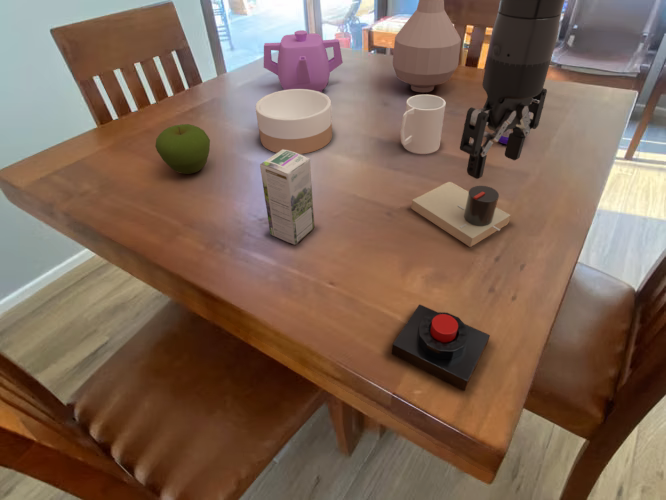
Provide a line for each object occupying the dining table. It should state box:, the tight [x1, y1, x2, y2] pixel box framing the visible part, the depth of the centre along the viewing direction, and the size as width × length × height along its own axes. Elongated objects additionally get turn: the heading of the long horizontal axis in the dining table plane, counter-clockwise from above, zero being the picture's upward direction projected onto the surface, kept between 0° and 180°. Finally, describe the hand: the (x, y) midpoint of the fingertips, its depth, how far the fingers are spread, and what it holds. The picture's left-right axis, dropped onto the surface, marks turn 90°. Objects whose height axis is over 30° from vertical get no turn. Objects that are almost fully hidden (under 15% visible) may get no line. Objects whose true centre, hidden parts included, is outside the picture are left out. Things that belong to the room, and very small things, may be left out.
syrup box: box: [259, 149, 315, 246], centre depth 72 cm, size 6×6×14 cm
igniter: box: [391, 304, 491, 391], centre depth 56 cm, size 10×8×4 cm
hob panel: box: [411, 181, 512, 248], centre depth 77 cm, size 16×10×2 cm, turn 36°
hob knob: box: [464, 185, 500, 226], centre depth 73 cm, size 5×5×5 cm
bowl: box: [255, 89, 333, 155], centre depth 101 cm, size 17×17×8 cm
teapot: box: [263, 29, 344, 93], centre depth 122 cm, size 19×18×15 cm
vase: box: [392, 0, 462, 93], centre depth 113 cm, size 18×18×30 cm
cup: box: [399, 94, 447, 155], centre depth 94 cm, size 8×12×10 cm
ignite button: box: [430, 314, 458, 343], centre depth 54 cm, size 3×3×2 cm
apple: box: [154, 123, 211, 175], centre depth 90 cm, size 11×10×10 cm
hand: (493, 166), depth 65 cm, fingers open, 8 cm apart
